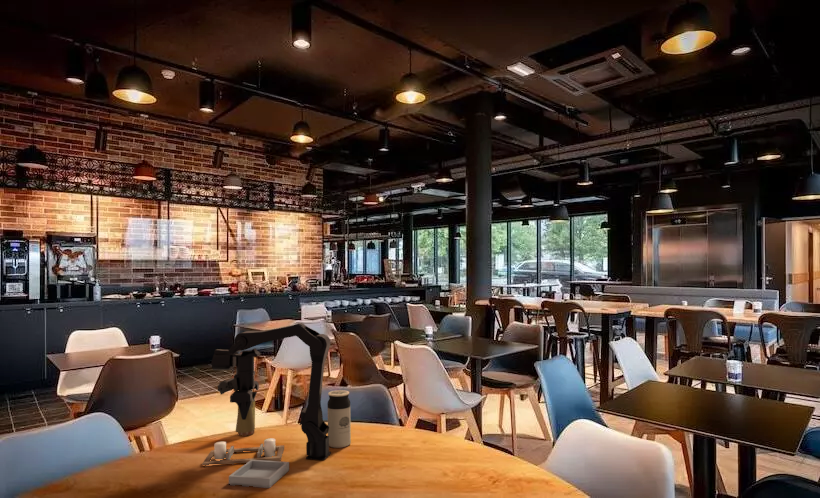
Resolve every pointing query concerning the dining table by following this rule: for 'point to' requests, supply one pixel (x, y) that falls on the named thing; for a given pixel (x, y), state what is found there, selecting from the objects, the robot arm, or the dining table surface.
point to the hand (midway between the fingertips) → (245, 417)
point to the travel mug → (339, 419)
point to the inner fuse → (269, 447)
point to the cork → (245, 422)
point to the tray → (259, 473)
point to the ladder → (232, 450)
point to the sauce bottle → (253, 419)
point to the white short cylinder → (220, 450)
